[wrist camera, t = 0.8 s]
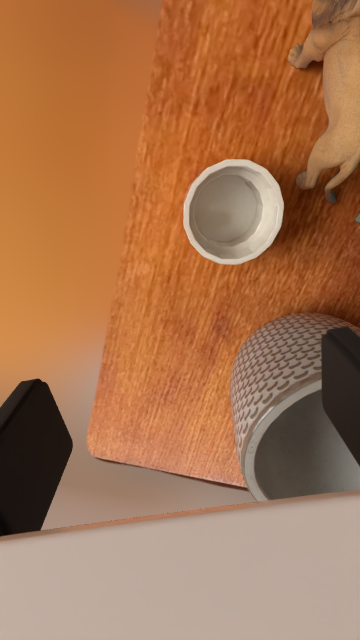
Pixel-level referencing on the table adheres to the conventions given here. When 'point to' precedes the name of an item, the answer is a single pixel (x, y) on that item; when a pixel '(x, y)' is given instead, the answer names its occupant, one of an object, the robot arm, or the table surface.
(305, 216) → the table surface
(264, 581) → the robot arm
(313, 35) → the lion figurine
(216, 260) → the bowl
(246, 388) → the planter
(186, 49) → the table surface
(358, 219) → the stand
